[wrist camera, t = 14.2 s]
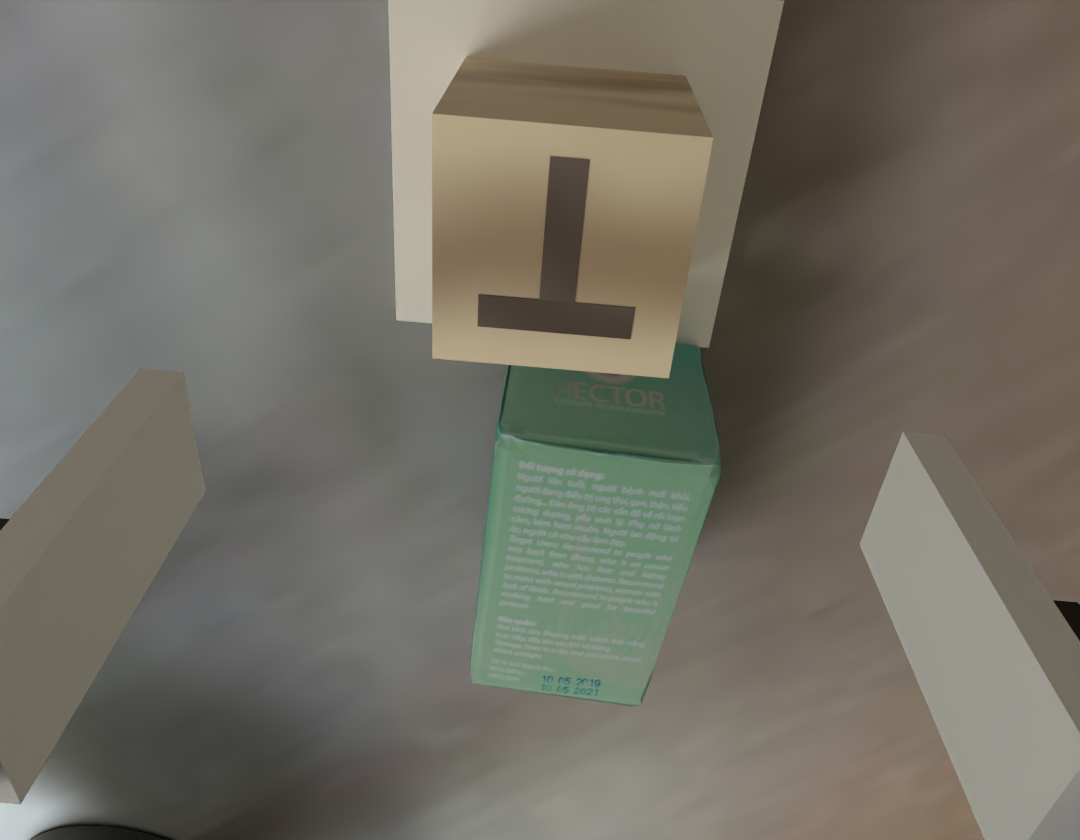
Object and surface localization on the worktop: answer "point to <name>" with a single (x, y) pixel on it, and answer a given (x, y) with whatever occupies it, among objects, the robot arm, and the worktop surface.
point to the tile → (595, 42)
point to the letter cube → (564, 215)
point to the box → (591, 526)
